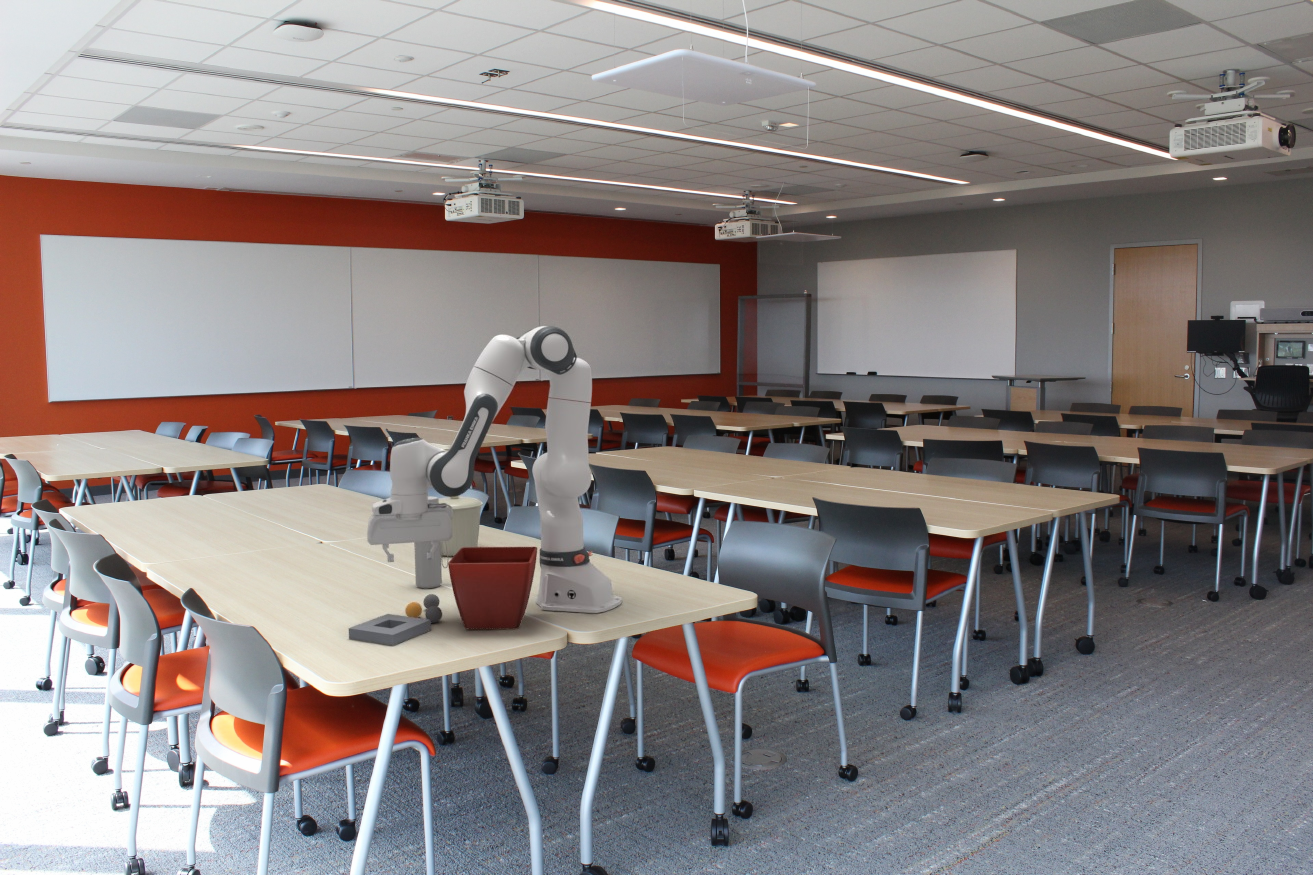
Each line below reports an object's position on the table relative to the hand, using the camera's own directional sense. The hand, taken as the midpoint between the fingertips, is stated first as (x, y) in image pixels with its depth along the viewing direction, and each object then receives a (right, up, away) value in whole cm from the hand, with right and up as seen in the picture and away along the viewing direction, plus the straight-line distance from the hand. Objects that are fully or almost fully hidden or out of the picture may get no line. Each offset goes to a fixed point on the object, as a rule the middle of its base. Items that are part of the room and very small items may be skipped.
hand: (410, 560), depth 231 cm
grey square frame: (-1, -16, -12) cm, 20 cm away
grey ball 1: (+3, -12, +9) cm, 15 cm away
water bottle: (-3, -12, +34) cm, 36 cm away
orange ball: (+1, -13, +1) cm, 13 cm away
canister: (-5, -8, +77) cm, 78 cm away
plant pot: (+22, -15, -3) cm, 26 cm away
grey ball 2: (+6, -13, -3) cm, 15 cm away
